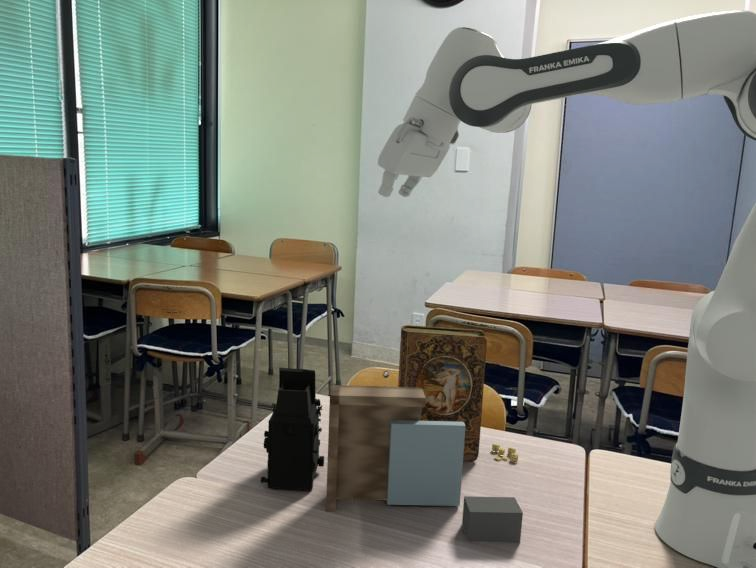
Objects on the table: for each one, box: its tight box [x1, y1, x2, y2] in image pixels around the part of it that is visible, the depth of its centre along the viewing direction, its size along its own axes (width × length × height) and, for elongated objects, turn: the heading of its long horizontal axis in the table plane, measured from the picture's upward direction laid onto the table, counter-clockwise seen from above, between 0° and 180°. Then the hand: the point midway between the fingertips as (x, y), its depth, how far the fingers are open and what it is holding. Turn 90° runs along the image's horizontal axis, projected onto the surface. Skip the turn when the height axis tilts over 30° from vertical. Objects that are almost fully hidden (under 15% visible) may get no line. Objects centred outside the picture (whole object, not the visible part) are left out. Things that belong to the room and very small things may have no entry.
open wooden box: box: [325, 384, 426, 512], centre depth 98 cm, size 15×5×20 cm, turn 93°
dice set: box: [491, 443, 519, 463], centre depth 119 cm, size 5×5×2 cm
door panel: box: [386, 420, 465, 507], centre depth 99 cm, size 12×2×14 cm, turn 93°
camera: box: [260, 367, 325, 492], centre depth 107 cm, size 10×14×20 cm
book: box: [397, 324, 488, 462], centre depth 118 cm, size 16×6×25 cm, turn 84°
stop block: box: [461, 495, 524, 544], centre depth 92 cm, size 8×4×5 cm, turn 93°
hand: (393, 195), depth 106 cm, fingers open, 8 cm apart
